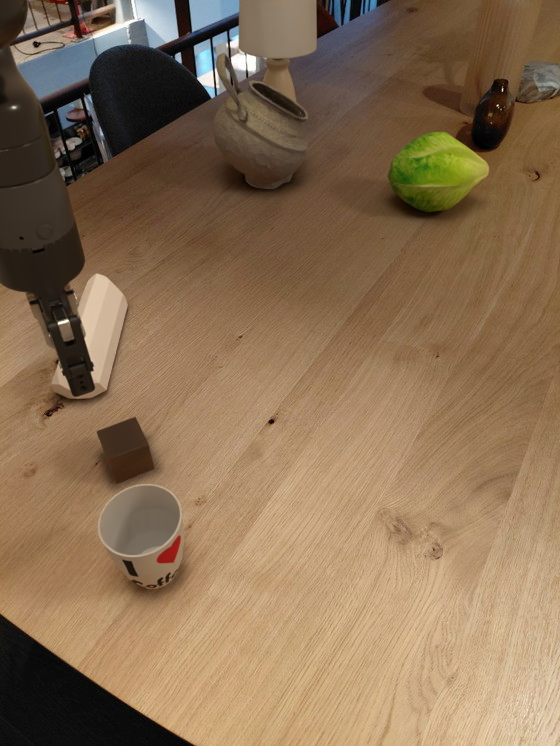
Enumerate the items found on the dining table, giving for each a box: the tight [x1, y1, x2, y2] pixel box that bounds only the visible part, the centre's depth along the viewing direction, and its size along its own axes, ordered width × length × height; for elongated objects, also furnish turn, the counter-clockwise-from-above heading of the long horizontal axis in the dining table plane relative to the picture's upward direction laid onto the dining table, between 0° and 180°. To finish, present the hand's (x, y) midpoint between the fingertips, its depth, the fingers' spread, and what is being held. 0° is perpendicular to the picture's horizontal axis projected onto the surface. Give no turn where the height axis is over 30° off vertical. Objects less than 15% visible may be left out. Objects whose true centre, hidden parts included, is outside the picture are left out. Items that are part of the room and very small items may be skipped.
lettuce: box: [387, 131, 490, 213], centre depth 116 cm, size 15×20×14 cm
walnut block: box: [96, 416, 155, 485], centre depth 71 cm, size 5×5×5 cm
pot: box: [212, 52, 309, 190], centre depth 120 cm, size 21×21×25 cm
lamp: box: [238, 0, 318, 102], centre depth 136 cm, size 19×19×37 cm
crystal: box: [50, 272, 129, 400], centre depth 86 cm, size 7×7×24 cm
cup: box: [97, 483, 185, 590], centre depth 59 cm, size 8×8×10 cm
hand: (72, 365), depth 58 cm, fingers open, 8 cm apart
